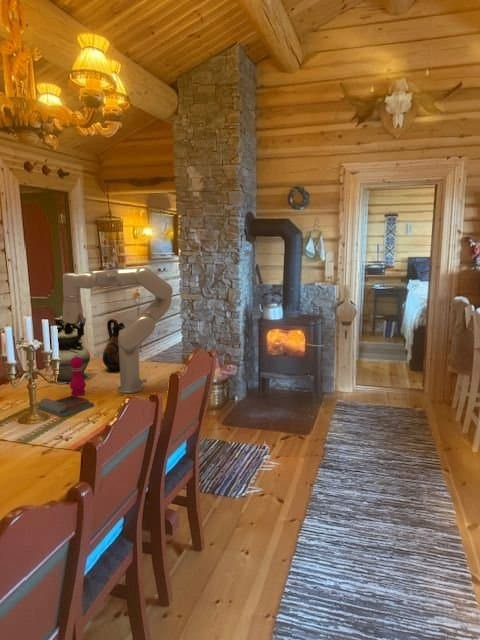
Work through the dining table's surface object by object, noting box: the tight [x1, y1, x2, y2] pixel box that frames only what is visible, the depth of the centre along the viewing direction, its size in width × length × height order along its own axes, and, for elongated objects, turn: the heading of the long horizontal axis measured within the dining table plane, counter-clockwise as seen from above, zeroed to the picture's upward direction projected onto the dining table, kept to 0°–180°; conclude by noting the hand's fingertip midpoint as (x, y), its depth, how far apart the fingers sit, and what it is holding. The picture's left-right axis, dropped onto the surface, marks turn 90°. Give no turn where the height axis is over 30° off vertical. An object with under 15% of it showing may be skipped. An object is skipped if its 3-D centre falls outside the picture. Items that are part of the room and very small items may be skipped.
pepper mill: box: [69, 354, 87, 397], centre depth 219 cm, size 7×7×20 cm
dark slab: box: [37, 394, 95, 418], centre depth 201 cm, size 16×18×4 cm
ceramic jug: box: [102, 318, 126, 373], centre depth 262 cm, size 17×15×30 cm
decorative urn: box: [48, 315, 92, 385], centre depth 244 cm, size 21×21×35 cm
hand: (74, 334), depth 216 cm, fingers open, 9 cm apart
